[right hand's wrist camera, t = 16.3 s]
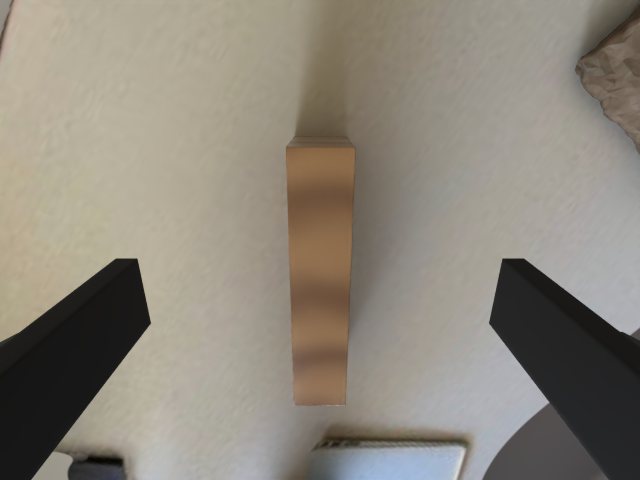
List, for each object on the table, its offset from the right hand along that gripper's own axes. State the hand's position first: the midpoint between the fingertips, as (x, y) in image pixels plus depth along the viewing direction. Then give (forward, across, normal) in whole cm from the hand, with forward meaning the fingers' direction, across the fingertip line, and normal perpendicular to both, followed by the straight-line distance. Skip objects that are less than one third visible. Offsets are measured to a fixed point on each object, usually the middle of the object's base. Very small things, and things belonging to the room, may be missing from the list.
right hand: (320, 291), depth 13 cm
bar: (+26, 0, -10) cm, 29 cm away
